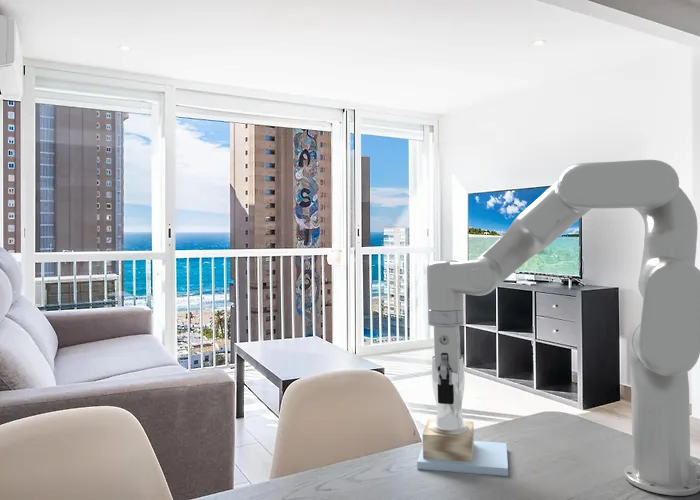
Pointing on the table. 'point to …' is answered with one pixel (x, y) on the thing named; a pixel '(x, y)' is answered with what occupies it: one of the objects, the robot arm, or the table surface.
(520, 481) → the table surface
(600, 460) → the table surface
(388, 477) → the table surface
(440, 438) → the plinth
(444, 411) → the beer glass
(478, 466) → the blueprint board
